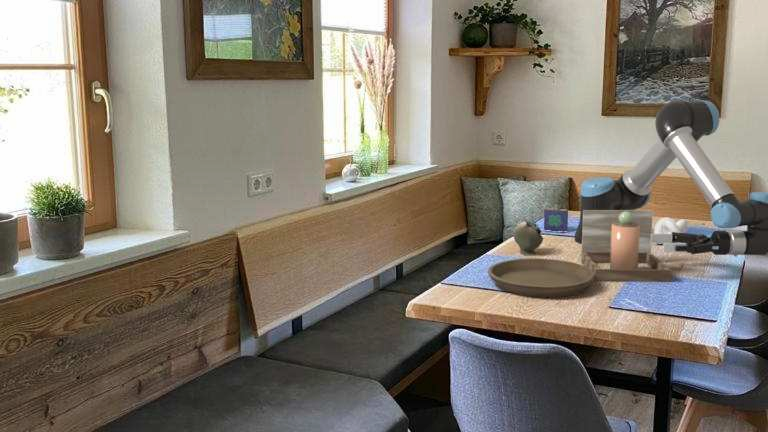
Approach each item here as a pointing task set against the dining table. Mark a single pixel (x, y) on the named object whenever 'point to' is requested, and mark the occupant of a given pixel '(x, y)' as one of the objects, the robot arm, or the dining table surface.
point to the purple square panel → (556, 219)
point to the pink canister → (624, 243)
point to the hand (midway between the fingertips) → (657, 242)
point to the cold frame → (599, 247)
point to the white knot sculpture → (670, 226)
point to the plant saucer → (541, 277)
